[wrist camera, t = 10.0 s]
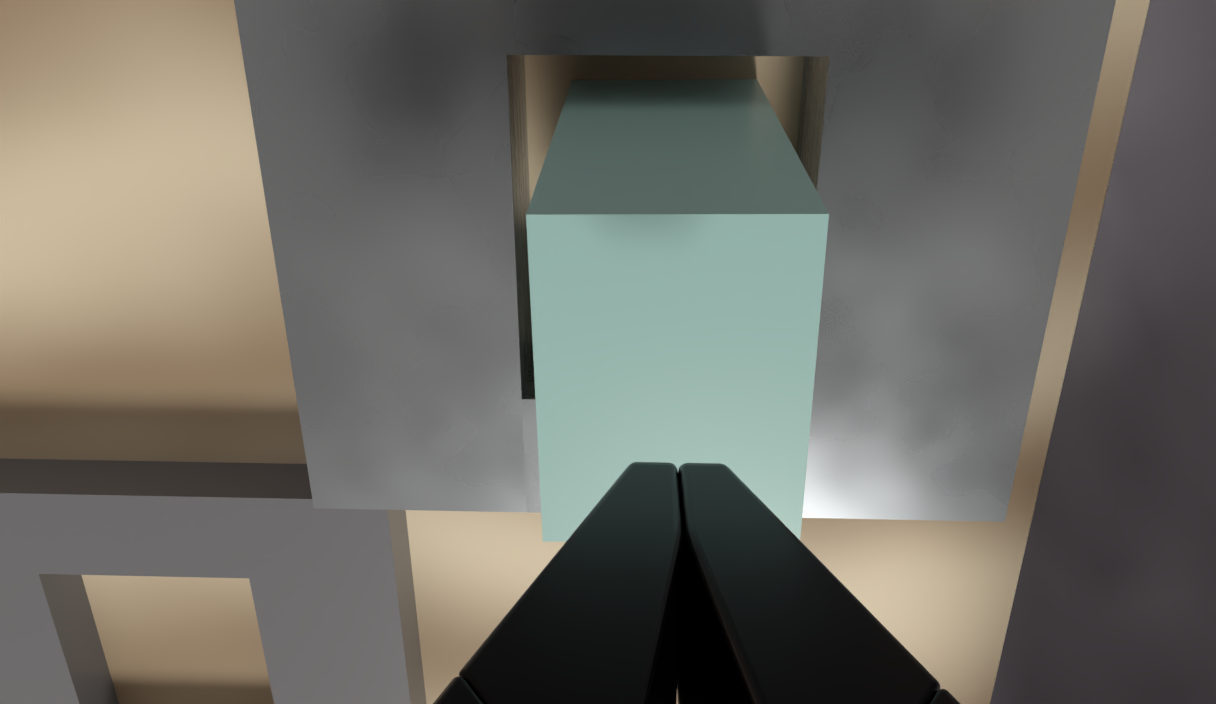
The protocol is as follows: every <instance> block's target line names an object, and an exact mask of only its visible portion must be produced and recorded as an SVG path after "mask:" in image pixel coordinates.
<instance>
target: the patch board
mask: <svg viewBox="0 0 1216 704" xmlns="http://www.w3.org/2000/svg"><path fill="white" fill-rule="evenodd" d="M1149 3H1150V0H1116V3H1115V7H1114V12H1113V17H1112V22H1111V26H1110V31H1109V36H1108V40H1107V45H1106V50H1105V54H1104V59H1103V64H1102V68H1101V73H1100V78H1099V82H1098V87H1097V92H1096V97H1095V101H1094V106H1093V111H1092V115H1091V120H1090V125H1089V129H1088V134H1087V139H1086V143H1085V148H1084V153H1083V158H1082V162H1081V167H1080V172H1079V176H1078V181H1077V186H1076V190H1075V195H1074V200H1073V204H1072V209H1071V214H1070V218H1069V223H1068V228H1067V233H1066V237H1065V242H1064V247H1063V251H1062V256H1061V261H1060V265H1059V270H1058V275H1057V279H1056V284H1055V289H1054V293H1053V298H1052V303H1051V308H1050V312H1049V317H1048V322H1047V326H1046V331H1045V336H1044V340H1043V345H1042V350H1041V354H1040V359H1039V364H1038V368H1037V373H1036V378H1035V383H1034V387H1033V392H1032V397H1031V401H1030V406H1029V411H1028V415H1027V420H1026V425H1025V429H1024V434H1023V439H1022V444H1021V448H1020V453H1019V458H1018V462H1017V467H1016V472H1015V476H1014V481H1013V486H1012V490H1011V495H1010V500H1009V504H1008V509H1007V514H1006V519H1005V522H992V521H940V520H889V519H837V518H802V525H801V537H800V541H801V542H802V543H803V544H804V545H805V546H806V547H807V548H808V549H809V550H810V551H811V552H812V553H813V554H814V555H815V556H816V557H817V558H818V559H819V560H820V561H821V562H822V563H823V564H824V565H825V566H826V567H827V568H828V569H829V570H830V571H831V573H832V574H833V575H834V576H835V577H836V578H837V579H838V580H839V581H840V582H841V583H842V584H843V585H844V586H845V587H846V588H847V589H848V590H849V591H850V592H851V593H852V594H853V595H854V596H855V597H856V598H857V599H858V600H859V601H860V602H861V603H862V604H863V605H864V606H865V607H866V608H867V609H868V610H869V611H870V612H871V613H872V614H873V615H874V616H875V617H876V618H877V619H878V621H879V622H880V623H881V624H882V625H883V626H884V627H885V628H886V629H887V630H888V631H889V632H890V633H891V634H892V635H893V636H894V637H895V638H896V639H897V640H898V641H899V642H900V643H901V644H902V645H903V646H904V647H905V648H906V649H907V650H908V651H909V652H910V653H911V654H912V655H913V656H914V657H915V658H916V659H917V660H918V661H919V662H920V663H921V664H922V665H923V666H924V667H925V669H926V670H927V671H928V672H929V673H930V674H931V675H932V676H933V677H934V678H935V679H936V680H937V681H938V682H939V684H940V689H946V690H947V691H949V692H950V693H951V694H952V696H953V697H954V698H955V699H956V700H957V701H958V702H959V703H960V704H990V701H991V697H992V693H993V688H994V684H995V679H996V675H997V671H998V666H999V662H1000V657H1001V653H1002V649H1003V644H1004V640H1005V635H1006V631H1007V627H1008V622H1009V618H1010V613H1011V609H1012V605H1013V600H1014V596H1015V591H1016V587H1017V583H1018V578H1019V574H1020V569H1021V565H1022V561H1023V556H1024V552H1025V547H1026V543H1027V539H1028V534H1029V530H1030V526H1031V521H1032V517H1033V512H1034V508H1035V504H1036V499H1037V495H1038V490H1039V486H1040V482H1041V477H1042V473H1043V468H1044V464H1045V460H1046V455H1047V451H1048V446H1049V442H1050V438H1051V433H1052V429H1053V424H1054V420H1055V416H1056V411H1057V407H1058V402H1059V398H1060V394H1061V389H1062V385H1063V381H1064V376H1065V372H1066V367H1067V363H1068V359H1069V354H1070V350H1071V345H1072V341H1073V337H1074V332H1075V328H1076V323H1077V319H1078V315H1079V310H1080V306H1081V301H1082V297H1083V293H1084V288H1085V284H1086V279H1087V275H1088V271H1089V266H1090V262H1091V257H1092V253H1093V249H1094V244H1095V240H1096V235H1097V231H1098V227H1099V222H1100V218H1101V214H1102V209H1103V205H1104V200H1105V196H1106V192H1107V187H1108V183H1109V178H1110V174H1111V170H1112V165H1113V161H1114V156H1115V152H1116V148H1117V143H1118V139H1119V134H1120V130H1121V126H1122V121H1123V117H1124V112H1125V108H1126V104H1127V99H1128V95H1129V90H1130V86H1131V82H1132V77H1133V73H1134V68H1135V64H1136V60H1137V55H1138V51H1139V47H1140V42H1141V38H1142V33H1143V29H1144V25H1145V20H1146V16H1147V11H1148V7H1149ZM803 67H804V56H626V55H525V78H526V106H527V134H528V162H529V189H530V202H531V199H532V196H533V193H534V190H535V187H536V184H537V181H538V178H539V175H540V172H541V170H542V167H543V164H544V161H545V158H546V155H547V152H548V149H549V146H550V143H551V140H552V138H553V135H554V132H555V129H556V126H557V123H558V120H559V117H560V114H561V111H562V109H563V106H564V103H565V100H566V97H567V94H568V91H569V88H570V85H571V82H572V80H677V79H757V80H758V82H759V84H760V86H761V88H762V90H763V91H764V93H765V95H766V97H767V99H768V101H769V103H770V104H771V106H772V108H773V110H774V112H775V114H776V116H777V118H778V119H779V121H780V123H781V125H782V127H783V129H784V131H785V133H786V134H787V136H788V138H789V140H790V142H791V144H792V146H793V148H794V149H795V151H796V150H797V138H798V126H799V114H800V102H801V91H802V79H803ZM0 458H2V459H58V460H113V461H168V462H224V463H279V464H307V462H306V456H305V449H304V443H303V437H302V430H301V424H300V418H299V411H298V405H297V399H296V392H295V386H294V380H293V373H292V367H291V360H290V354H289V348H288V341H287V335H286V329H285V322H284V316H283V310H282V303H281V297H280V291H279V284H278V278H277V272H276V265H275V259H274V252H273V246H272V240H271V233H270V227H269V221H268V214H267V208H266V202H265V195H264V189H263V183H262V176H261V170H260V163H259V157H258V151H257V144H256V138H255V132H254V125H253V119H252V113H251V106H250V100H249V94H248V87H247V81H246V75H245V68H244V62H243V55H242V49H241V43H240V36H239V30H238V24H237V17H236V11H235V5H234V0H0ZM406 519H407V528H408V538H409V547H410V556H411V565H412V575H413V584H414V593H415V602H416V611H417V621H418V630H419V639H420V648H421V658H422V667H423V676H424V685H425V694H426V704H433V703H434V702H435V700H436V699H437V698H438V697H439V695H440V694H441V693H442V692H443V691H444V689H445V688H446V687H447V686H448V684H449V683H450V682H451V681H452V679H453V678H455V677H459V672H460V671H461V669H462V668H463V667H464V666H465V664H466V663H467V662H468V661H469V660H470V658H471V657H472V656H473V655H474V653H475V652H476V651H477V650H478V649H479V647H480V646H481V645H482V644H483V642H484V641H485V640H486V639H487V638H488V636H489V635H490V634H491V633H492V631H493V630H494V629H495V628H496V627H497V625H498V624H499V623H500V622H501V621H502V619H503V618H504V617H505V616H506V614H507V613H508V612H509V611H510V610H511V608H512V607H513V606H514V605H515V603H516V602H517V601H518V600H519V599H520V597H521V596H522V595H523V594H524V592H525V591H526V590H527V589H528V588H529V586H530V585H531V584H532V583H533V581H534V580H535V579H536V578H537V577H538V575H539V574H540V573H541V572H542V570H543V569H544V568H545V567H546V566H547V564H548V563H549V562H550V561H551V560H552V558H553V557H554V556H555V555H556V553H557V552H558V551H559V550H560V549H561V547H562V546H563V545H564V544H565V542H543V537H542V517H541V513H528V512H477V511H425V510H406ZM82 579H83V582H84V586H85V589H86V593H87V596H88V599H89V603H90V606H91V610H92V613H93V617H94V620H95V623H96V627H97V630H98V634H99V637H100V641H101V644H102V647H103V651H104V654H105V658H106V661H107V665H108V668H109V671H110V675H111V678H112V682H113V685H114V689H115V692H116V695H117V699H118V702H119V704H274V701H273V696H272V691H271V686H270V681H269V676H268V671H267V666H266V661H265V656H264V651H263V646H262V641H261V636H260V631H259V626H258V621H257V616H256V611H255V606H254V601H253V596H252V591H251V586H250V581H249V578H204V577H158V576H112V575H82ZM676 704H678V698H677V702H676Z"/></svg>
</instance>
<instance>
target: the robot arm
mask: <svg viewBox="0 0 1216 704" xmlns="http://www.w3.org/2000/svg"><path fill="white" fill-rule="evenodd" d="M677 698H678V704H960V703H959V702H958V701H957V700H956V699H955V698H954V697H953V696H952V694H951V693H950V692H949V691H947V690H946V689H940V684H939V682H938V681H937V680H936V679H935V678H934V677H933V676H932V675H931V674H930V673H929V672H928V671H927V670H926V669H925V667H924V666H923V665H922V664H921V663H920V662H919V661H918V660H917V659H916V658H915V657H914V656H913V655H912V654H911V653H910V652H909V651H908V650H907V649H906V648H905V647H904V646H903V645H902V644H901V643H900V642H899V641H898V640H897V639H896V638H895V637H894V636H893V635H892V634H891V633H890V632H889V631H888V630H887V629H886V628H885V627H884V626H883V625H882V624H881V623H880V622H879V621H878V619H877V618H876V617H875V616H874V615H873V614H872V613H871V612H870V611H869V610H868V609H867V608H866V607H865V606H864V605H863V604H862V603H861V602H860V601H859V600H858V599H857V598H856V597H855V596H854V595H853V594H852V593H851V592H850V591H849V590H848V589H847V588H846V587H845V586H844V585H843V584H842V583H841V582H840V581H839V580H838V579H837V578H836V577H835V576H834V575H833V574H832V573H831V571H830V570H829V569H828V568H827V567H826V566H825V565H824V564H823V563H822V562H821V561H820V560H819V559H818V558H817V557H816V556H815V555H814V554H813V553H812V552H811V551H810V550H809V549H808V548H807V547H806V546H805V545H804V544H803V543H802V542H801V541H800V540H799V539H798V538H797V537H796V536H795V535H794V534H793V533H792V532H791V531H790V530H789V529H788V528H787V527H786V526H785V525H784V523H783V522H782V521H781V520H780V519H779V518H778V517H777V516H776V515H775V514H774V513H773V512H772V511H771V510H770V509H769V508H768V507H767V506H766V505H765V504H764V503H763V502H762V501H761V500H760V499H759V498H758V497H757V496H756V495H755V494H754V493H753V492H752V491H751V490H750V489H749V488H748V487H747V486H746V485H745V484H744V483H743V482H742V481H741V480H740V479H739V478H738V477H737V475H736V474H735V473H734V472H733V471H732V470H731V469H730V468H729V467H727V466H726V465H724V464H720V463H684V464H682V465H681V466H680V467H679V470H677V467H676V466H675V465H674V464H672V463H669V462H633V463H631V464H630V465H629V466H628V467H627V468H626V469H625V470H624V472H623V473H622V474H621V475H620V476H619V478H618V479H617V480H616V481H615V483H614V484H613V485H612V486H611V487H610V489H609V490H608V491H607V492H606V494H605V495H604V496H603V497H602V498H601V500H600V501H599V502H598V503H597V505H596V506H595V507H594V508H593V509H592V511H591V512H590V513H589V514H588V516H587V517H586V518H585V519H584V520H583V522H582V523H581V524H580V525H579V527H578V528H577V529H576V530H575V531H574V533H573V534H572V535H571V536H570V538H569V539H568V540H567V541H566V542H565V544H564V545H563V546H562V547H561V549H560V550H559V551H558V552H557V553H556V555H555V556H554V557H553V558H552V560H551V561H550V562H549V563H548V564H547V566H546V567H545V568H544V569H543V570H542V572H541V573H540V574H539V575H538V577H537V578H536V579H535V580H534V581H533V583H532V584H531V585H530V586H529V588H528V589H527V590H526V591H525V592H524V594H523V595H522V596H521V597H520V599H519V600H518V601H517V602H516V603H515V605H514V606H513V607H512V608H511V610H510V611H509V612H508V613H507V614H506V616H505V617H504V618H503V619H502V621H501V622H500V623H499V624H498V625H497V627H496V628H495V629H494V630H493V631H492V633H491V634H490V635H489V636H488V638H487V639H486V640H485V641H484V642H483V644H482V645H481V646H480V647H479V649H478V650H477V651H476V652H475V653H474V655H473V656H472V657H471V658H470V660H469V661H468V662H467V663H466V664H465V666H464V667H463V668H462V669H461V671H460V672H459V677H455V678H453V679H452V681H451V682H450V683H449V684H448V686H447V687H446V688H445V689H444V691H443V692H442V693H441V694H440V695H439V697H438V698H437V699H436V700H435V702H434V703H433V704H676V702H677Z"/></svg>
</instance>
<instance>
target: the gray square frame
mask: <svg viewBox="0 0 1216 704" xmlns="http://www.w3.org/2000/svg"><path fill="white" fill-rule="evenodd" d="M82 575H112V576H158V577H204V578H249V581H250V586H251V591H252V596H253V601H254V606H255V611H256V616H257V621H258V626H259V631H260V636H261V641H262V646H263V651H264V656H265V661H266V666H267V671H268V676H269V681H270V686H271V691H272V696H273V701H274V704H426V694H425V685H424V676H423V667H422V658H421V648H420V639H419V630H418V621H417V611H416V602H415V593H414V584H413V575H412V565H411V556H410V547H409V538H408V528H407V519H406V510H374V509H322V508H314V507H313V500H312V494H311V488H310V481H309V475H308V468H307V464H279V463H224V462H168V461H113V460H58V459H2V458H0V704H119V702H118V699H117V695H116V692H115V689H114V685H113V682H112V678H111V675H110V671H109V668H108V665H107V661H106V658H105V654H104V651H103V647H102V644H101V641H100V637H99V634H98V630H97V627H96V623H95V620H94V617H93V613H92V610H91V606H90V603H89V599H88V596H87V593H86V589H85V586H84V582H83V579H82Z"/></svg>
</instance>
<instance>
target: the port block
mask: <svg viewBox="0 0 1216 704" xmlns="http://www.w3.org/2000/svg"><path fill="white" fill-rule="evenodd" d="M1115 3H1116V0H234V5H235V11H236V17H237V24H238V30H239V36H240V43H241V49H242V55H243V62H244V68H245V75H246V81H247V87H248V94H249V100H250V106H251V113H252V119H253V125H254V132H255V138H256V144H257V151H258V157H259V163H260V170H261V176H262V183H263V189H264V195H265V202H266V208H267V214H268V221H269V227H270V233H271V240H272V246H273V252H274V259H275V265H276V272H277V278H278V284H279V291H280V297H281V303H282V310H283V316H284V322H285V329H286V335H287V341H288V348H289V354H290V360H291V367H292V373H293V380H294V386H295V392H296V399H297V405H298V411H299V418H300V424H301V430H302V437H303V443H304V449H305V456H306V462H307V468H308V475H309V481H310V488H311V494H312V500H313V507H314V508H322V509H374V510H425V511H477V512H528V513H541V498H540V478H539V458H538V439H537V419H536V400H535V380H534V361H533V341H532V322H531V302H530V283H529V263H528V244H527V224H526V213H527V210H528V207H529V204H530V189H529V162H528V134H527V106H526V78H525V55H626V56H804V67H803V79H802V91H801V102H800V114H799V126H798V138H797V150H796V153H797V155H798V157H799V159H800V161H801V162H802V164H803V166H804V168H805V170H806V172H807V174H808V176H809V177H810V179H811V181H812V183H813V185H814V187H815V189H816V191H817V192H818V194H819V196H820V198H821V200H822V202H823V204H824V205H825V207H826V209H827V211H828V213H829V220H828V232H827V243H826V254H825V265H824V277H823V288H822V299H821V311H820V322H819V333H818V345H817V356H816V367H815V378H814V390H813V401H812V412H811V424H810V435H809V446H808V457H807V469H806V480H805V491H804V503H803V514H802V518H837V519H889V520H940V521H992V522H1005V519H1006V514H1007V509H1008V504H1009V500H1010V495H1011V490H1012V486H1013V481H1014V476H1015V472H1016V467H1017V462H1018V458H1019V453H1020V448H1021V444H1022V439H1023V434H1024V429H1025V425H1026V420H1027V415H1028V411H1029V406H1030V401H1031V397H1032V392H1033V387H1034V383H1035V378H1036V373H1037V368H1038V364H1039V359H1040V354H1041V350H1042V345H1043V340H1044V336H1045V331H1046V326H1047V322H1048V317H1049V312H1050V308H1051V303H1052V298H1053V293H1054V289H1055V284H1056V279H1057V275H1058V270H1059V265H1060V261H1061V256H1062V251H1063V247H1064V242H1065V237H1066V233H1067V228H1068V223H1069V218H1070V214H1071V209H1072V204H1073V200H1074V195H1075V190H1076V186H1077V181H1078V176H1079V172H1080V167H1081V162H1082V158H1083V153H1084V148H1085V143H1086V139H1087V134H1088V129H1089V125H1090V120H1091V115H1092V111H1093V106H1094V101H1095V97H1096V92H1097V87H1098V82H1099V78H1100V73H1101V68H1102V64H1103V59H1104V54H1105V50H1106V45H1107V40H1108V36H1109V31H1110V26H1111V22H1112V17H1113V12H1114V7H1115Z"/></svg>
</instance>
